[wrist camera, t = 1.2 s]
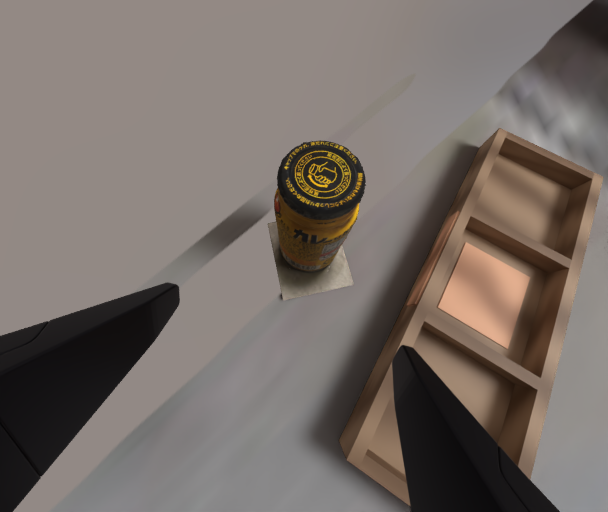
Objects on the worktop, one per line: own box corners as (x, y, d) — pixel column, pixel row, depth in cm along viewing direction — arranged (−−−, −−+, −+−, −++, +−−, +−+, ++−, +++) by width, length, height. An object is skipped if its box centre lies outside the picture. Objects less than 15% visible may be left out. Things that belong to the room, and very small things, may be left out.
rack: (472, 536, 18) (506, 576, 15) (336, 439, 19) (344, 458, 17) (571, 192, 28) (603, 176, 25) (478, 146, 30) (497, 127, 27)
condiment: (331, 212, 26) (361, 120, 15) (353, 285, 24) (409, 243, 12) (267, 224, 25) (246, 136, 14) (283, 300, 23) (272, 271, 11)
